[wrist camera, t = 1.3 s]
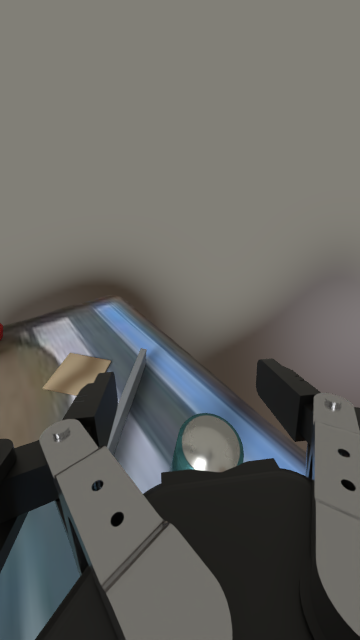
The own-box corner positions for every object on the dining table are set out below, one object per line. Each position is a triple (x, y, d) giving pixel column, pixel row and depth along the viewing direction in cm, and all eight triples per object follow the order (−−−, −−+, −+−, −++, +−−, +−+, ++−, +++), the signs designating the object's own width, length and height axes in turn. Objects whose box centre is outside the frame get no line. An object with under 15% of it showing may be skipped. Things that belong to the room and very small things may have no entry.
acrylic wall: (74, 535, 22) (67, 526, 20) (140, 363, 42) (141, 348, 39) (84, 537, 22) (77, 529, 20) (145, 364, 42) (146, 349, 39)
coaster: (43, 389, 35) (42, 387, 35) (70, 354, 41) (69, 352, 41) (91, 398, 35) (90, 397, 34) (110, 361, 41) (110, 360, 41)
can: (161, 515, 24) (172, 474, 17) (170, 457, 29) (182, 406, 22) (214, 527, 24) (248, 490, 17) (214, 466, 29) (241, 418, 22)
